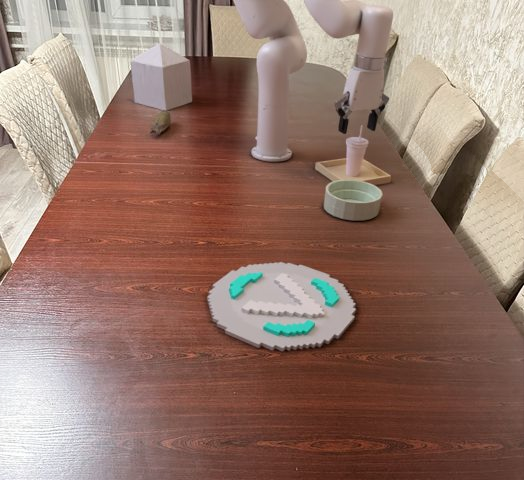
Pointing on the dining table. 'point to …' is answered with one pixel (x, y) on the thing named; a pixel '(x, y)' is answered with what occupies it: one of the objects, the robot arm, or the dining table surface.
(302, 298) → the grey pixelated disc
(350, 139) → the smoothie
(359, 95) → the robot arm
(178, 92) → the decorative block
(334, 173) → the tray
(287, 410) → the dining table surface
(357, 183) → the bowl
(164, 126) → the decorative bird model
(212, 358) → the dining table surface
